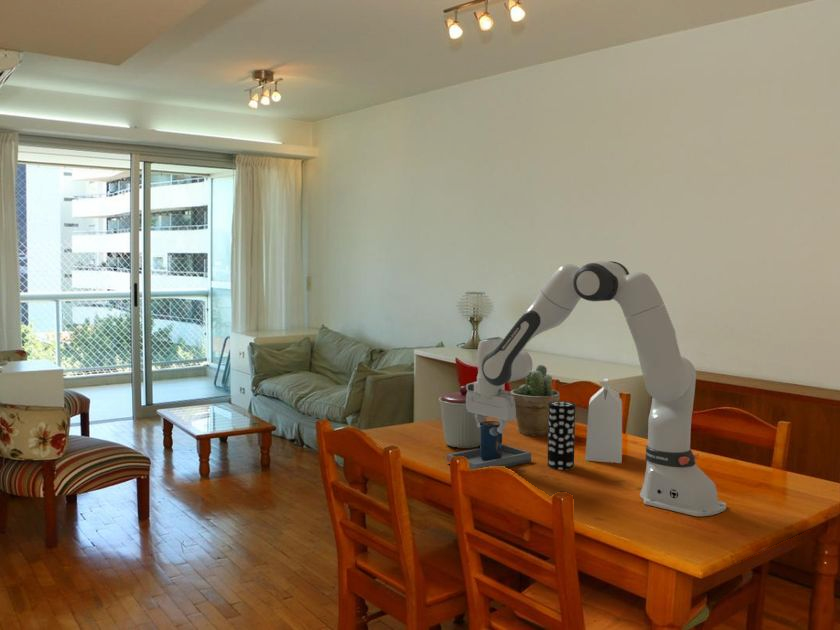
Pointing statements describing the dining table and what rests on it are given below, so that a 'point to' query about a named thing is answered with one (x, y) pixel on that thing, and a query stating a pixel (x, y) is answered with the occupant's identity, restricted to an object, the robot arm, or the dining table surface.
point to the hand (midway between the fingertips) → (490, 430)
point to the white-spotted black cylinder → (561, 435)
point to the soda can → (490, 441)
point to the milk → (604, 426)
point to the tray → (508, 459)
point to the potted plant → (534, 402)
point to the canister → (459, 421)
